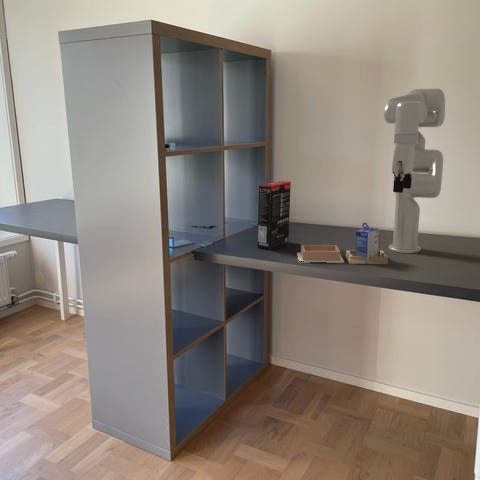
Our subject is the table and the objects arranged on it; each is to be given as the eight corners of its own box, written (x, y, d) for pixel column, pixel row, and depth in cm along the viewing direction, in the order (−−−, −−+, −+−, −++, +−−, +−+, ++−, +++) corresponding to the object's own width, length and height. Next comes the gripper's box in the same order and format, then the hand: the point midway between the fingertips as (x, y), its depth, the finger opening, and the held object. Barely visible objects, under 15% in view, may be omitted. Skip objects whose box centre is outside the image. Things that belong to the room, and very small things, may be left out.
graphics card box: (276, 240, 223) (277, 180, 216) (290, 242, 219) (291, 181, 213) (256, 248, 209) (257, 184, 202) (271, 251, 205) (271, 185, 199)
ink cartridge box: (364, 256, 195) (366, 220, 192) (378, 258, 192) (380, 222, 189) (353, 262, 188) (355, 224, 184) (367, 264, 184) (369, 226, 181)
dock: (296, 254, 199) (297, 244, 198) (339, 255, 198) (340, 244, 197) (298, 263, 187) (299, 252, 186) (344, 263, 186) (344, 252, 185)
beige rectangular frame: (345, 257, 195) (346, 250, 194) (381, 257, 194) (382, 250, 194) (349, 264, 185) (350, 256, 185) (387, 265, 185) (388, 257, 184)
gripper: (401, 138, 175) (398, 186, 180) (386, 141, 161) (383, 193, 166) (423, 138, 171) (419, 187, 176) (409, 141, 157) (406, 194, 162)
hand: (402, 190), depth 171 cm, fingers open, 9 cm apart
